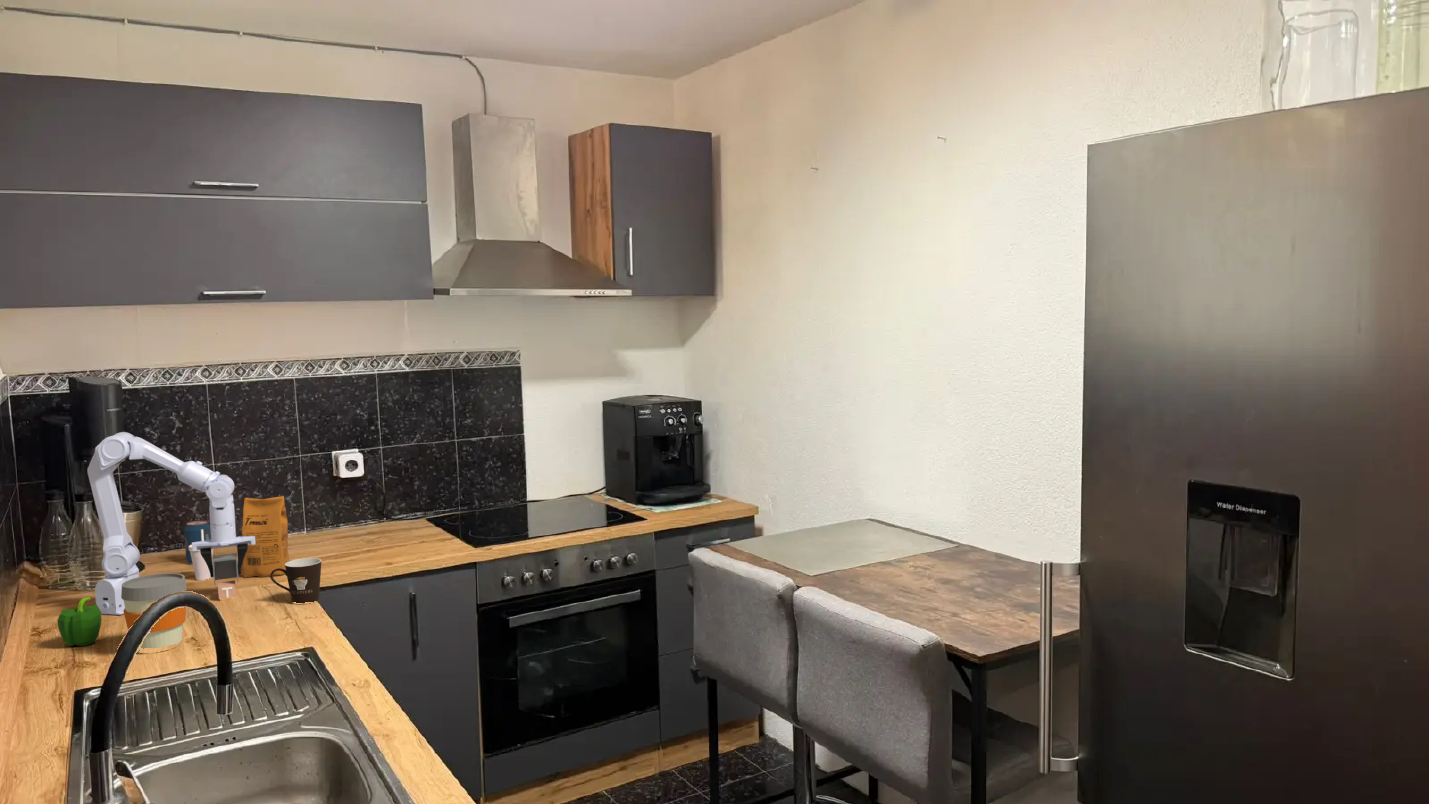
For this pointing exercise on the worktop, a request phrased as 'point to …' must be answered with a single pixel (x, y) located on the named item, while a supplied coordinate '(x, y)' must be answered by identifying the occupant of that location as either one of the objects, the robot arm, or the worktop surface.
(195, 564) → the smoothie
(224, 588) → the letter cube
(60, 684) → the worktop surface
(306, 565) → the coffee mug
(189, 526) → the soda can
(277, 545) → the coffee package
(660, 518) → the worktop surface
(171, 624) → the reusable coffee cup
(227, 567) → the grey hollow cube
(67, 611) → the bell pepper
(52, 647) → the worktop surface
